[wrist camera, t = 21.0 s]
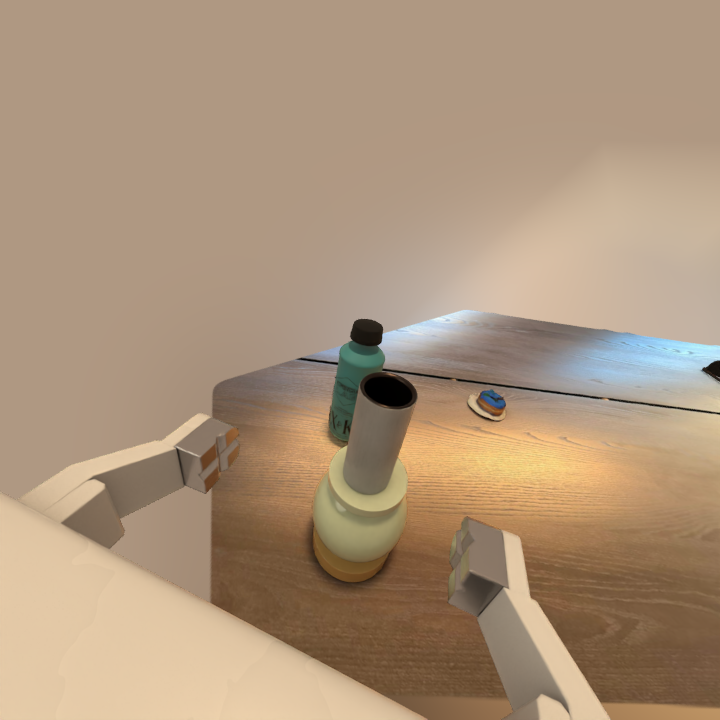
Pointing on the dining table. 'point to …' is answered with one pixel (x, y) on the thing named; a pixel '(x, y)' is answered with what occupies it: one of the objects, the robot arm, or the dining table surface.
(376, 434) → the grey tumbler
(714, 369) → the sunglasses
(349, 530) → the pale green two-tone container
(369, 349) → the beverage bottle
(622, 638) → the dining table surface
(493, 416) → the dessert
